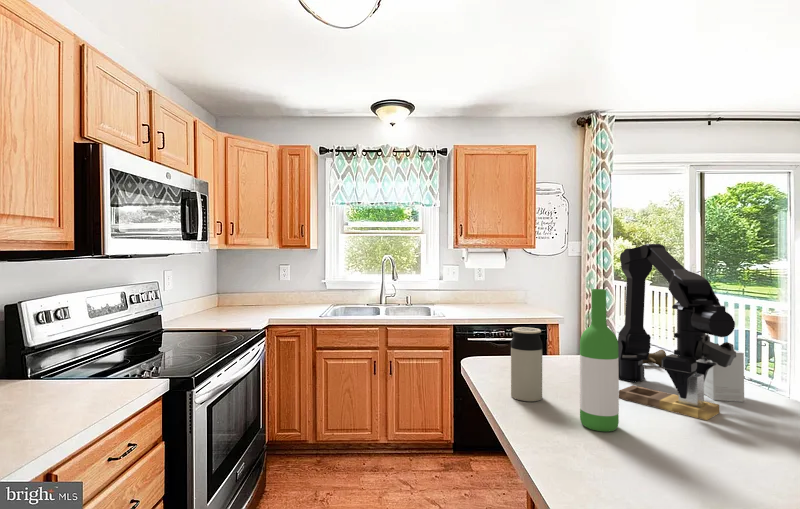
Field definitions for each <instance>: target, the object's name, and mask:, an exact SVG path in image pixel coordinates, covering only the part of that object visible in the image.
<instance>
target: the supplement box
mask: <svg viewBox="0 0 800 509" xmlns="http://www.w3.org/2000/svg"><path fill="white" fill-rule="evenodd" d="M734 351H736V357H735V358H734V359H733V361H732V363H731V365H730V366H727V367H722V366H720V365H718V364H716V365H715V366H713V367H712V368H710V369H709V370H708V372H707V375H706V378H705V381H704V396H706V397H708V398H710V399H711V400H713V401H724V402H725V401H726V402H738V403H739V402H740V403H741V402H742V403H743V402H745V358H744V357H745V355H744V354H745V353H744V352H741V351H738V350H736V349H734ZM710 362H712V361H711V360H710ZM713 363H714V362H713Z"/></svg>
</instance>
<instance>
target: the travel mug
mask: <svg viewBox="0 0 800 509" xmlns="http://www.w3.org/2000/svg"><path fill="white" fill-rule="evenodd" d="M511 331H512V332H513V336H512V338H511V339H510V396H511V397H512V398H513V399H515V400H517V401H521V402H525V403H533V402H538V401H540V400H542V399H543V341H542V340H541V336H540V335H541V333H542V330H541V329H540V328H535V327H525V326H521V327H520V326H518V327H513V328H512V329H511Z"/></svg>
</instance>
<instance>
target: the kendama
mask: <svg viewBox="0 0 800 509" xmlns="http://www.w3.org/2000/svg"><path fill="white" fill-rule="evenodd" d="M665 356H667V353H666V351H665V349H660V350H659V349H658V350H657V351H656V352H651V353H650V352H649V356H648V360H643V365H645V364H655V365H657V366H659V367H661V368H663V367H662V359H663V358H664V357H665Z"/></svg>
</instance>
